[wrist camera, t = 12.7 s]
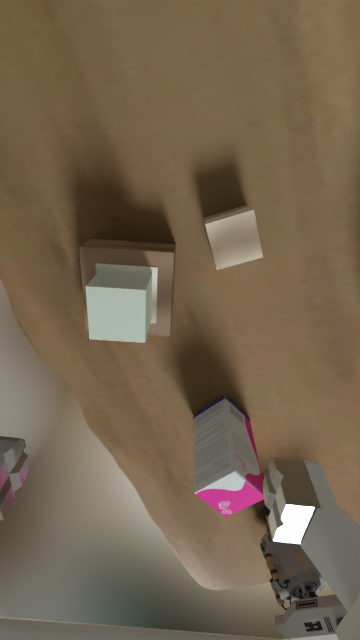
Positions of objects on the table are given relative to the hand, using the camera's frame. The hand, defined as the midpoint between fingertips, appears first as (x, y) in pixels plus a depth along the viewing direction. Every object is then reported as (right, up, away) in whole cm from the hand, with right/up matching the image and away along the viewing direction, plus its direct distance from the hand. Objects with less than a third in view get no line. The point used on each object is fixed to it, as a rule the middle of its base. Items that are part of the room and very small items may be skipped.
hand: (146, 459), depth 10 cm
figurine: (+20, -29, +42) cm, 55 cm away
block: (+6, +14, +22) cm, 27 cm away
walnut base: (-4, +9, +25) cm, 27 cm away
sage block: (-4, +7, +21) cm, 23 cm away
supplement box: (+7, -9, +33) cm, 35 cm away
